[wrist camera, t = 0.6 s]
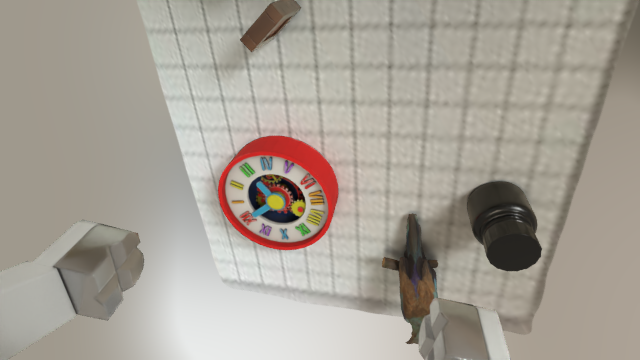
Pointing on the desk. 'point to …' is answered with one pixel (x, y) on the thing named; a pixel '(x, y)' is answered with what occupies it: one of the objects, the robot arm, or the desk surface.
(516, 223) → the ink bottle
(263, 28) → the frame
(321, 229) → the toy clock
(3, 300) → the robot arm
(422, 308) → the bird figurine
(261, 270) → the desk surface
